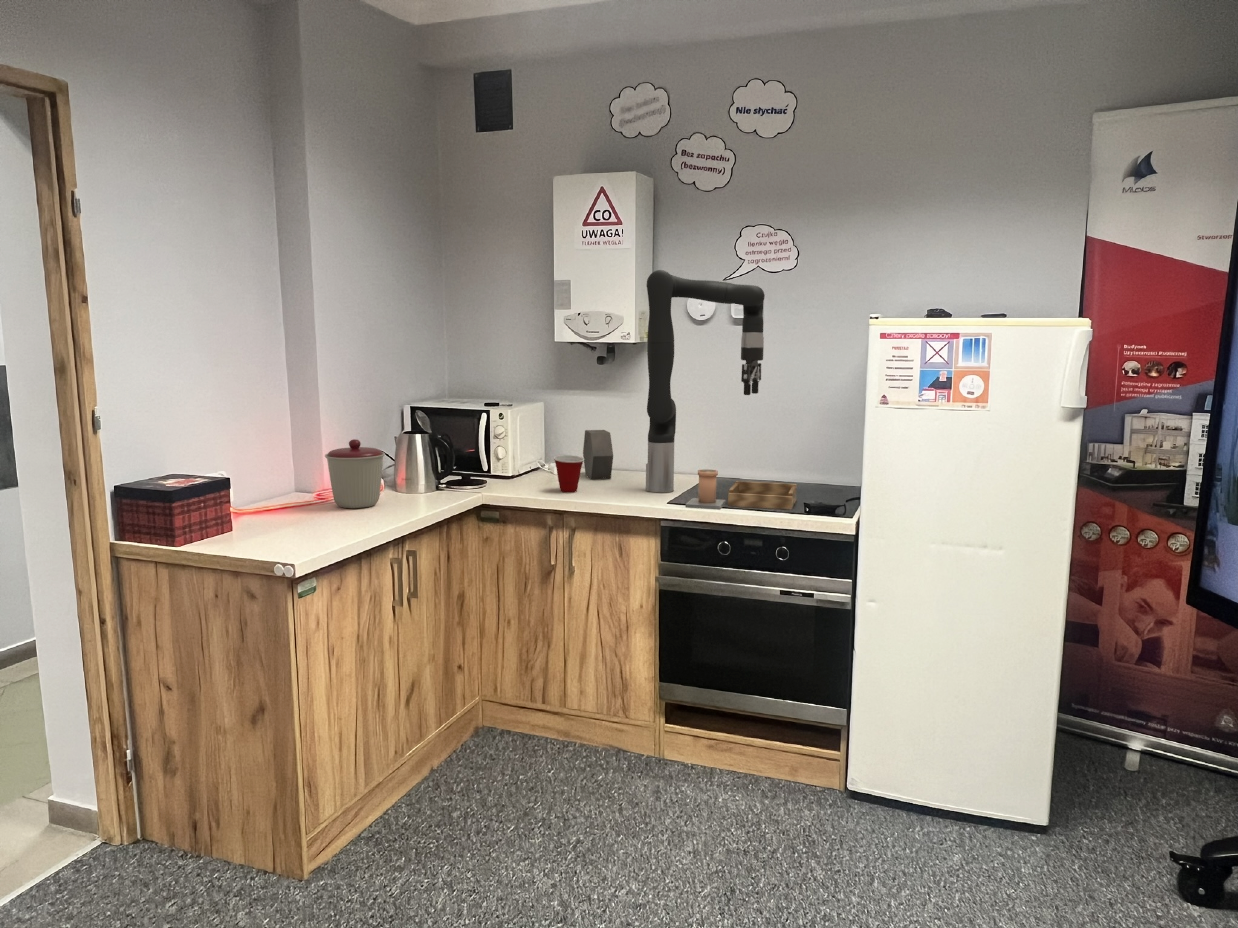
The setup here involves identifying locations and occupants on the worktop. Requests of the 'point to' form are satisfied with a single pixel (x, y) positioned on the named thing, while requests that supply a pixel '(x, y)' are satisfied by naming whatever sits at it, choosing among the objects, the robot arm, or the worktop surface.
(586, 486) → the worktop surface
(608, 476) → the grey hexagonal block
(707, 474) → the terracotta pot
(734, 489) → the wooden tray
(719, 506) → the slate tile
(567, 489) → the plastic cup
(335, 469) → the canister
